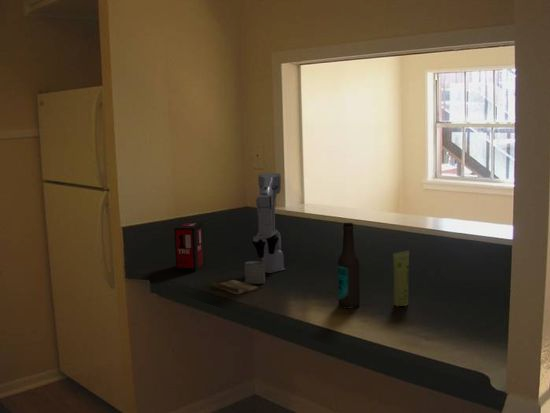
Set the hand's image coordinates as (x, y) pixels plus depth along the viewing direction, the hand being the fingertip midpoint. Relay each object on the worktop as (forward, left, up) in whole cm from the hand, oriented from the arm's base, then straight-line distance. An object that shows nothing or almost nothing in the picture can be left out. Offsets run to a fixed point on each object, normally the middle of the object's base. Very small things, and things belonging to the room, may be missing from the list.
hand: (266, 255), depth 258 cm
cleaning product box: (+9, -43, -11) cm, 45 cm away
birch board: (+17, 0, -10) cm, 20 cm away
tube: (-10, +62, -11) cm, 64 cm away
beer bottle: (+3, +49, -11) cm, 50 cm away
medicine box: (+7, 0, -11) cm, 13 cm away
